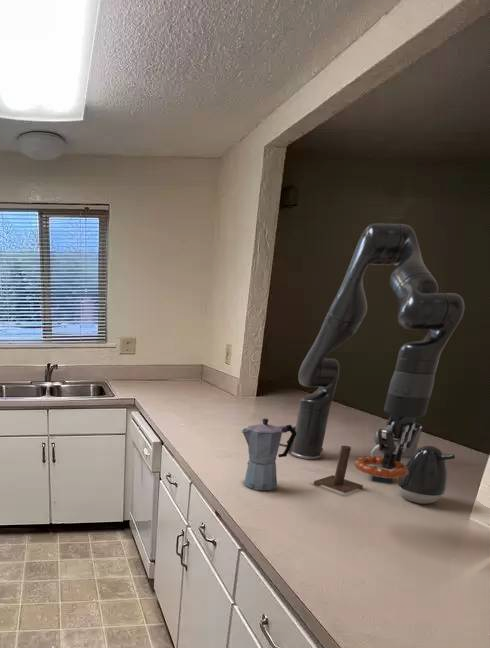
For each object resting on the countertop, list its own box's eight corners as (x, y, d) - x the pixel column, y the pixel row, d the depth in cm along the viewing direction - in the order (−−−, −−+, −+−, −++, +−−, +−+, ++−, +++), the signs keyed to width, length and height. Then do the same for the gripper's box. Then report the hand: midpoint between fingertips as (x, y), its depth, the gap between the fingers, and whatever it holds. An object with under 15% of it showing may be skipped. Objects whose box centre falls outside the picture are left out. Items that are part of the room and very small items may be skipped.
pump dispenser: (428, 511, 110) (445, 455, 105) (386, 496, 119) (399, 443, 114) (449, 503, 115) (466, 449, 109) (407, 489, 123) (421, 438, 118)
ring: (345, 467, 99) (346, 460, 98) (369, 460, 104) (371, 453, 103) (391, 482, 91) (393, 475, 90) (416, 473, 95) (418, 466, 95)
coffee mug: (408, 449, 157) (415, 422, 153) (419, 458, 148) (427, 429, 145) (366, 446, 161) (372, 419, 157) (374, 454, 152) (381, 426, 148)
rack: (313, 484, 127) (321, 445, 123) (332, 478, 131) (339, 440, 127) (343, 495, 119) (352, 454, 115) (362, 489, 124) (371, 448, 119)
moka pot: (229, 479, 131) (236, 415, 124) (278, 478, 132) (288, 413, 125) (242, 492, 122) (251, 423, 115) (295, 490, 123) (307, 422, 116)
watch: (397, 484, 126) (406, 449, 123) (365, 479, 130) (373, 444, 127) (396, 478, 131) (405, 444, 127) (365, 473, 135) (373, 439, 131)
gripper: (406, 386, 99) (388, 457, 105) (373, 392, 93) (356, 467, 99) (445, 392, 93) (423, 467, 99) (411, 399, 87) (391, 478, 93)
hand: (389, 467), depth 99 cm, fingers closed on ring, 2 cm apart
